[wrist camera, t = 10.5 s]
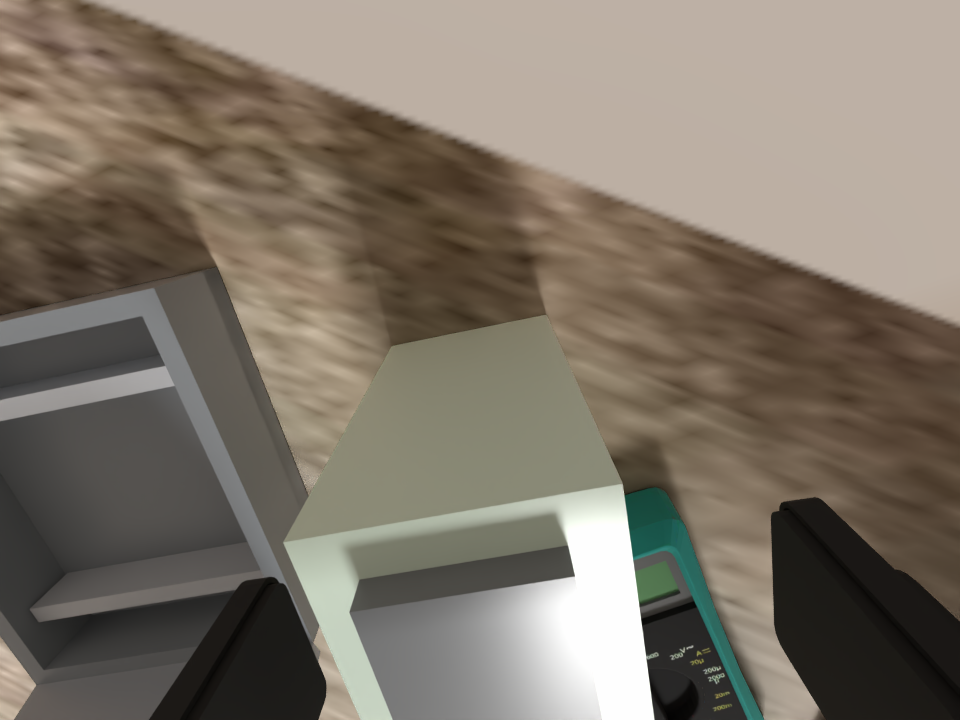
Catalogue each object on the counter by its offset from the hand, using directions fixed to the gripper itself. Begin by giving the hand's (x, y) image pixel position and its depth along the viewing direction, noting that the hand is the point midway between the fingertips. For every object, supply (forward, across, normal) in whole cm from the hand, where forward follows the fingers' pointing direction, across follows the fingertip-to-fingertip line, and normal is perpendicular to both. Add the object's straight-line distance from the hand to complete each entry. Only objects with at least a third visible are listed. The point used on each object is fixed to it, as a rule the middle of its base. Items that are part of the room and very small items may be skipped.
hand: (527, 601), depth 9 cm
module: (+8, +1, -1) cm, 8 cm away
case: (+7, +13, -1) cm, 15 cm away
